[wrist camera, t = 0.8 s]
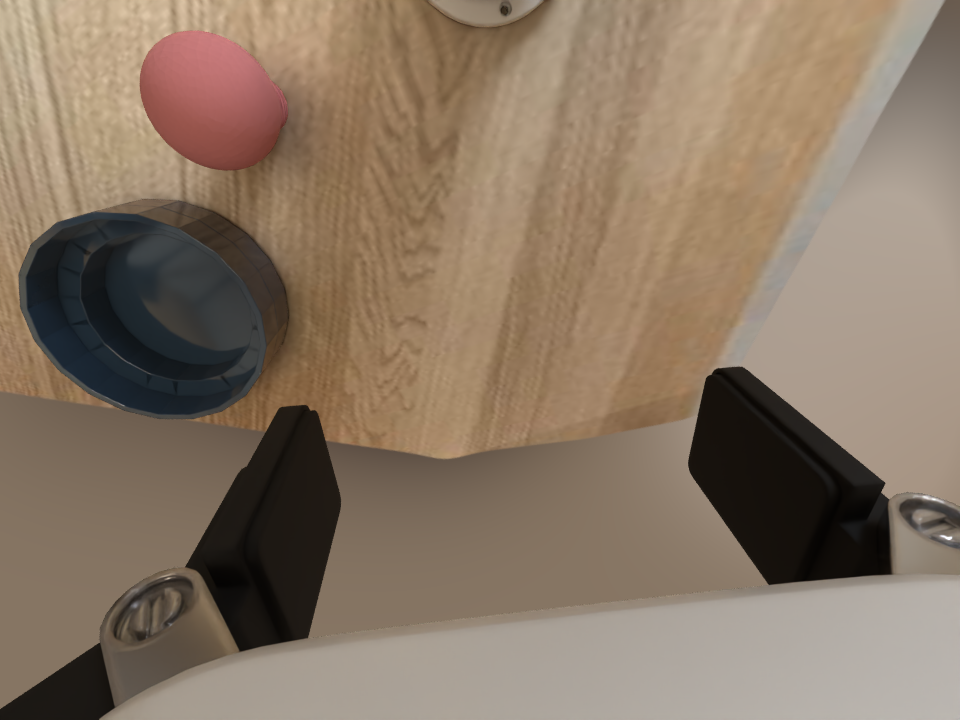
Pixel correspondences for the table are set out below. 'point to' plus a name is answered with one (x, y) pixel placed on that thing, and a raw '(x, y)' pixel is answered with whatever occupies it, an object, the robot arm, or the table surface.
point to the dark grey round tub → (154, 307)
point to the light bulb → (211, 100)
